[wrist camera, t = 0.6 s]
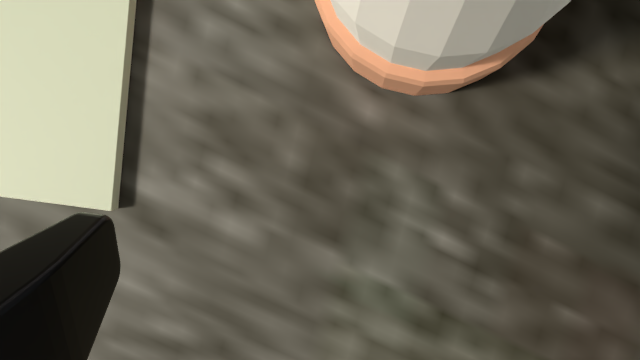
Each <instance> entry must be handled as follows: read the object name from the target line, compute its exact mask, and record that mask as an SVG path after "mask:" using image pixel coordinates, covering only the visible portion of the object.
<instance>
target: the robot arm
mask: <svg viewBox="0 0 640 360" xmlns="http://www.w3.org/2000/svg"><path fill="white" fill-rule="evenodd" d="M119 275H120V258H119V252H118V246H117V240H116V234H115V228H114V224H113V221H112V220H111V218H110V217H108V216H106V215H100V214H93V213H85V212H80V213H76V214H74V215H72V216H70V217H68V218H66V219H64V220H62V221H60V222H58V223H56V224H54V225H52V226H50V227H48V228H46V229H44V230H42V231H40V232H38V233H36V234H34V235H32V236H30V237H28V238H26V239H24V240H22V241H20V242H18V243H16V244H14V245H12V246H11V247H9V248H7V249H5V250H3V251H1V252H0V360H87V359H88V356H89V354H90V351H91V348H92V346H93V343H94V341H95V338H96V336H97V333H98V331H99V328H100V325H101V323H102V320H103V318H104V315H105V313H106V310H107V307H108V305H109V302H110V300H111V297H112V295H113V292H114V290H115V287H116V284H117V282H118V279H119Z"/></svg>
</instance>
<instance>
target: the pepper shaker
mask: <svg viewBox="0 0 640 360" xmlns="http://www.w3.org/2000/svg"><path fill="white" fill-rule="evenodd" d="M570 1H571V0H315V3H316V5H317V8H318V10H319V13H320V16H321V18H322V20H323V23H324V25H325V28H326V30H327V33H328V35H329V38H330V40H331V43H332V45H333V47H334V48H335V49H336V50H337V51H338V53H339V54H340V55H341V56H342V57H343V58H344V60H345V61H346V62H347V63H348V64H349V66H350V67H351V68H352V69H353V70H354V71H355V72H357V73H358V74H360V75H362V76H363V77H365V78H366V79H368V80H370V81H371V82H373V83H375V84H376V85H378V86H380V87H381V88H384V89H388V90H392V91H397V92H401V93H405V94H409V95H414V96H417V95H429V94H441V93H449V92H451V91H454V90H456V89H459V88H461V87H463V86H466V85H468V84H471V83H473V82H476V81H478V80H480V79H482V78H484V77H485V76H487V75H489V74H491V73H492V72H494V71H496V70H498V69H500V68H501V67H502V66H504V65H505V64H506V63H507V62H508V61H510V60H511V59H512V58H513V57H514V56H516V55H517V54H518V53H519V52H520V51H522V50H523V49H524V48H525V47H526V46H528V45H529V44H530V43H531V42H532V41H533V40H534V39H535V37H536V36H537V34H538V33H539V31H540V29H541V28H542V26H543V25H544V23H545V22H547V21H548V20H549V19H550V18H551V17H553V16H554V15H555V14H556V13H557V12H559V11H560V10H561V9H562V8H563V7H565V6H566V5H567V4H568V3H569V2H570Z"/></svg>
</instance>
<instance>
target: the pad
mask: <svg viewBox="0 0 640 360" xmlns="http://www.w3.org/2000/svg"><path fill="white" fill-rule="evenodd" d="M136 1H137V0H0V196H1V197H9V198H17V199H24V200H32V201H39V202H47V203H54V204H62V205H70V206H77V207H85V208H92V209H100V210H108V211H113V210H116V209H118V206H119V194H120V183H121V171H122V160H123V149H124V137H125V126H126V115H127V103H128V92H129V81H130V69H131V58H132V46H133V35H134V24H135V12H136Z"/></svg>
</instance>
